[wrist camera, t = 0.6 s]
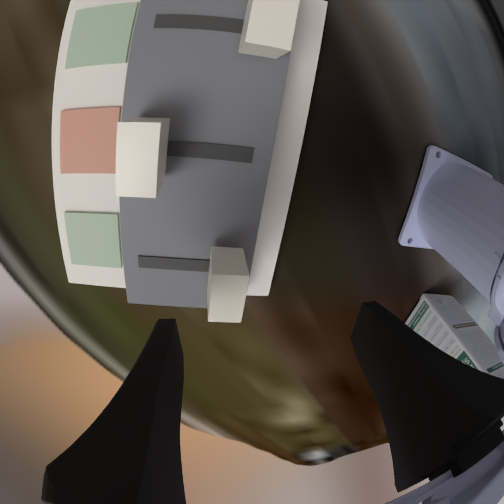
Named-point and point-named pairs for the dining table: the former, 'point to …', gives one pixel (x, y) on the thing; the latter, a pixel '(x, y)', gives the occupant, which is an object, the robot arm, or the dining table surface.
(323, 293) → the dining table surface
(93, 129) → the switch unit
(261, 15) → the knob near
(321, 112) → the dining table surface
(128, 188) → the knob middle
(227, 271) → the knob far
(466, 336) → the syrup box
